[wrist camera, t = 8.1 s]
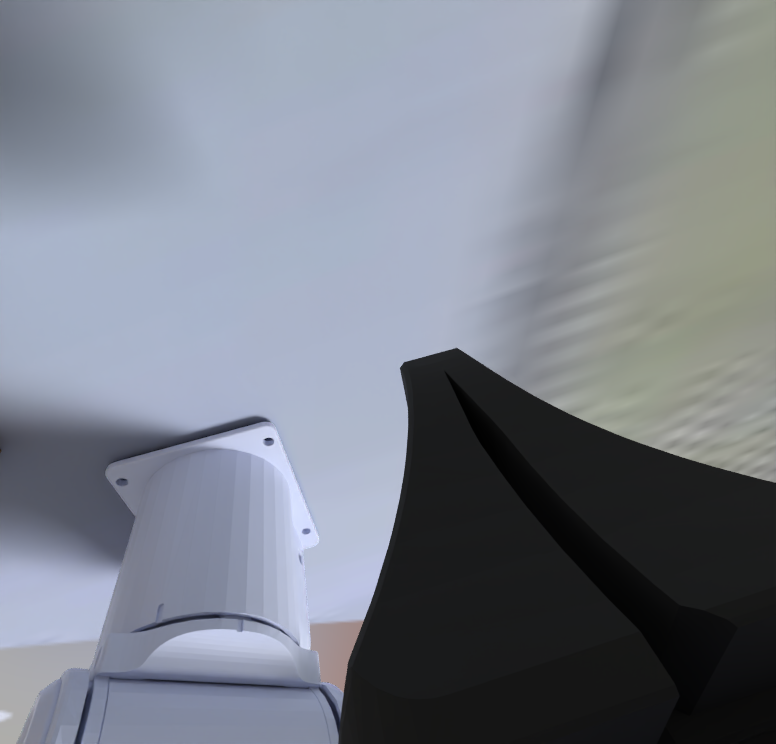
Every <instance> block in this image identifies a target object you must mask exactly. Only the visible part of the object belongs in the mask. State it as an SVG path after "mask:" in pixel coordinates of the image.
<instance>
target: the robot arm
mask: <svg viewBox="0 0 776 744" xmlns="http://www.w3.org/2000/svg"><path fill="white" fill-rule="evenodd" d="M400 370H401V375H402V380H403V385H404V390H405V395H406V400H407V405H408V439H407V453H406V462H405V470H404V477H403V483H402V489H401V495H400V500H399V505H398V509H397V514H396V518H395V523H394V527H393V531H392V535H391V539H390V543H389V546H388V550H387V553H386V556H385V559H384V563H383V566H382V569H381V573H380V576H379V579H378V582H377V586H376V589H375V592H374V595H373V598H372V601H371V604H370V606H369V609H368V612H367V614H366V617H365V619H364V622H363V625H362V627H361V630H360V633H359V635H358V638H357V641H356V643H355V646H354V649H353V651H352V654H351V656H350V659H349V662H348V669H347V675H346V682H345V688H344V693H343V692H342V691H341V690H340V689H339V688H338V687H337V686H334V685H333V684H330V683H326V682H321V679H320V669H319V658H318V652H316V651H312V650H310V627H309V615H308V603H307V591H306V579H305V567H304V555H303V550H304V549H307V548H310V547H313V546H315V545H317V544H318V542H319V535H318V532H317V530H316V527H315V525H314V522H313V520H312V517H311V515H310V512H309V510H308V507H307V505H306V502H305V500H304V497H303V495H302V492H301V490H300V487H299V485H298V482H297V480H296V477H295V475H294V472H293V470H292V467H291V465H290V462H289V460H288V457H287V455H286V452H285V450H284V447H283V445H282V442H281V440H280V437H279V435H278V432H277V430H276V427H275V426H274V424H272V423H271V422H260V423H257V424H253V425H249V426H246V427H242V428H238V429H235V430H231V431H227V432H224V433H220V434H216V435H213V436H209V437H205V438H202V439H198V440H194V441H190V442H187V443H183V444H179V445H176V446H172V447H168V448H165V449H161V450H157V451H154V452H150V453H146V454H143V455H139V456H135V457H132V458H128V459H124V460H121V461H117V462H113V463H111V464H109V466H108V467H107V469H106V472H105V475H106V478H107V479H108V480H109V482H110V483H111V484H112V486H113V487H114V489H115V490H116V491H117V493H118V494H119V495H120V497H121V498H122V500H123V501H124V502H125V504H126V505H127V506H128V508H129V509H130V510H131V512H132V513H133V515H134V516H135V517H136V518H135V521H134V524H133V528H132V531H131V535H130V538H129V541H128V545H127V548H126V551H125V555H124V558H123V561H122V565H121V568H120V571H119V575H118V578H117V582H116V585H115V588H114V592H113V595H112V598H111V602H110V605H109V608H108V612H107V615H106V618H105V622H104V625H103V628H102V632H101V635H100V639H99V642H98V645H97V649H96V652H95V655H94V659H93V662H92V664H91V666H90V668H89V670H87V669H79V668H71V669H68V670H66V671H65V672H64V673H63V675H62V676H61V677H60V679H58V680H55V681H54V682H53V683H51V684H50V685H48V686H47V687H46V688H44V689H43V690H42V691H40V693H39V695H38V696H37V698H36V700H35V702H34V704H33V706H32V708H31V710H30V713H29V715H28V717H27V720H26V722H25V724H24V727H23V729H22V731H21V734H20V736H19V738H18V741H17V743H16V744H776V483H774V482H770V481H765V480H761V479H757V478H754V477H750V476H746V475H742V474H739V473H735V472H731V471H727V470H724V469H720V468H716V467H712V466H709V465H706V464H702V463H699V462H695V461H692V460H689V459H685V458H682V457H679V456H676V455H673V454H670V453H667V452H664V451H661V450H658V449H655V448H652V447H649V446H646V445H643V444H641V443H638V442H635V441H632V440H630V439H627V438H624V437H622V436H619V435H617V434H614V433H612V432H609V431H607V430H605V429H602V428H600V427H597V426H595V425H593V424H590V423H588V422H586V421H583V420H581V419H579V418H577V417H575V416H572V415H570V414H568V413H566V412H564V411H562V410H560V409H558V408H556V407H554V406H552V405H550V404H548V403H547V402H545V401H543V400H541V399H539V398H537V397H535V396H533V395H532V394H530V393H528V392H526V391H525V390H523V389H521V388H520V387H518V386H516V385H514V384H513V383H511V382H509V381H508V380H506V379H504V378H503V377H501V376H500V375H498V374H497V373H495V372H493V371H492V370H490V369H489V368H487V367H486V366H484V365H483V364H481V363H479V362H478V361H476V360H475V359H473V358H472V357H470V356H469V355H467V354H466V353H464V352H463V351H461V350H459V349H458V348H455V349H452V350H448V351H444V352H441V353H437V354H433V355H429V356H426V357H422V358H418V359H415V360H411V361H407V362H404V363H403V365H402V366H401V367H400ZM266 438H272V439H273V440H271V441H266V440H264V439H266ZM119 478H124V479H126V480H120V479H119ZM305 528H307V529H305Z"/></svg>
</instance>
